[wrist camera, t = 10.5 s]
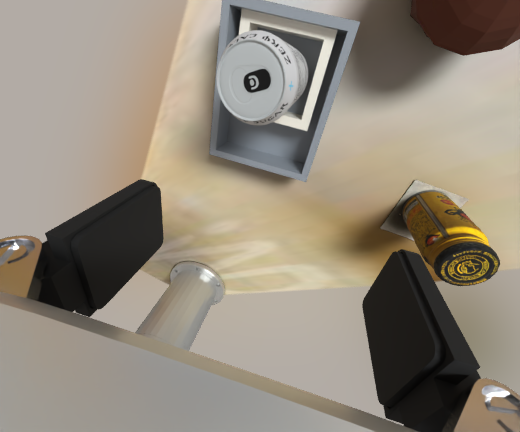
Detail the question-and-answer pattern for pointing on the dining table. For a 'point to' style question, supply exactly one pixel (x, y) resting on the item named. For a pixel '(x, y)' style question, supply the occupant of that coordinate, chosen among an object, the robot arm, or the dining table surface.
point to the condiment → (443, 234)
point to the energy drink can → (260, 77)
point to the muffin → (469, 23)
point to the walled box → (308, 104)
